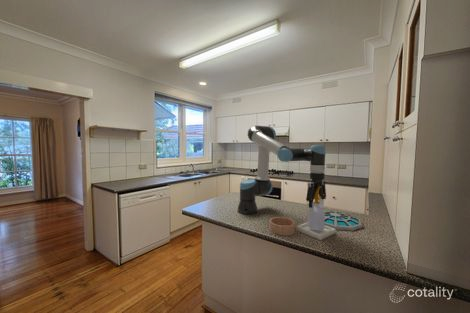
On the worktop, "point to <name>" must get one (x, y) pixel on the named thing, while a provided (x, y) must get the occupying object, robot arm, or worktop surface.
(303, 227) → the tray
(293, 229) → the holder ring
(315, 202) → the soap bottle
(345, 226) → the decorative platform
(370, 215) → the worktop surface
